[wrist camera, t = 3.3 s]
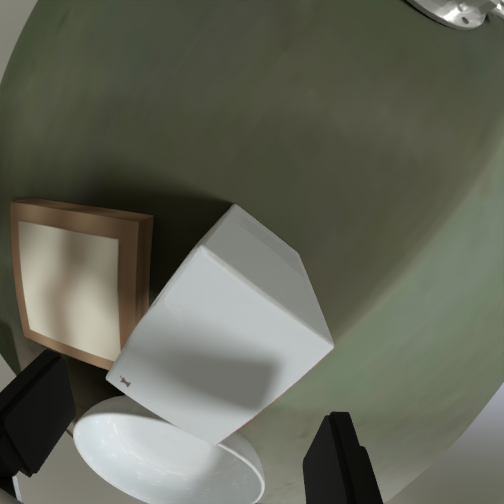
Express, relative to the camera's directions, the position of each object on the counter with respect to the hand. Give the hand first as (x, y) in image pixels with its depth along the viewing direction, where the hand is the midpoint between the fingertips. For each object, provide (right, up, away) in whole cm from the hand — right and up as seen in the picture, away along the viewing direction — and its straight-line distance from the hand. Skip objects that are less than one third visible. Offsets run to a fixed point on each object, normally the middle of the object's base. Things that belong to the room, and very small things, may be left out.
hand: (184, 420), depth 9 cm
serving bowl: (-7, -16, +21) cm, 27 cm away
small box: (+1, +4, +15) cm, 15 cm away
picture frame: (-13, +3, +16) cm, 21 cm away
